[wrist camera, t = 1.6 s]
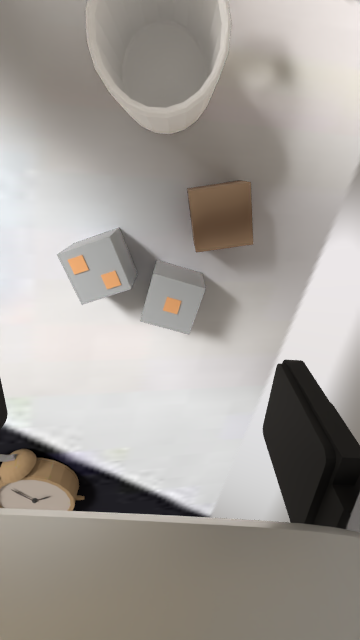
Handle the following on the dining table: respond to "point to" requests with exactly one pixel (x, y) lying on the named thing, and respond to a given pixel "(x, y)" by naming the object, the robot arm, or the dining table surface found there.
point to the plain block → (221, 215)
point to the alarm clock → (36, 483)
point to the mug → (159, 56)
